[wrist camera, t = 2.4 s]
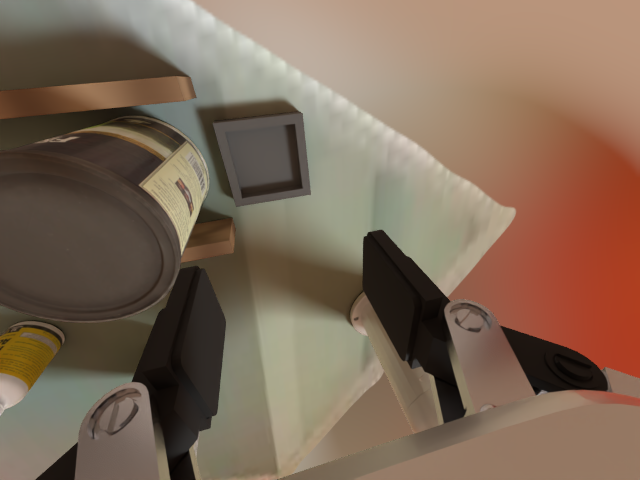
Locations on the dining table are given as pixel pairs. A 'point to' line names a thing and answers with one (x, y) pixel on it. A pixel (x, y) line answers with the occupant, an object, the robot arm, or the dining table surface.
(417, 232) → the dining table surface
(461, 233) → the dining table surface
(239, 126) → the tray
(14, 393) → the supplement bottle
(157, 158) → the coffee can
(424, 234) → the dining table surface
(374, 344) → the robot arm
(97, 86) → the channel
